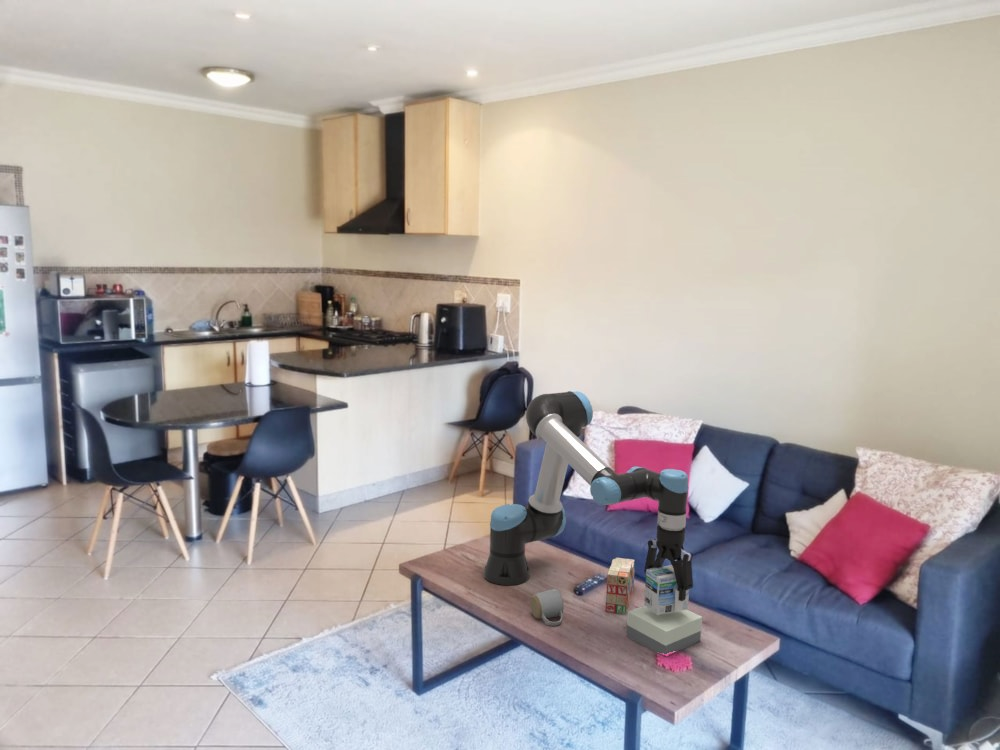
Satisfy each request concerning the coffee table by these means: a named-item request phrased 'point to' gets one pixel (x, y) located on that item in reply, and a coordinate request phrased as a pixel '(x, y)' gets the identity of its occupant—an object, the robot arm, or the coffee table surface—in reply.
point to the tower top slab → (664, 624)
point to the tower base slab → (658, 646)
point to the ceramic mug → (547, 606)
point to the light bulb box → (662, 590)
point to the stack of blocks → (619, 585)
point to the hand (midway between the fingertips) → (666, 604)
